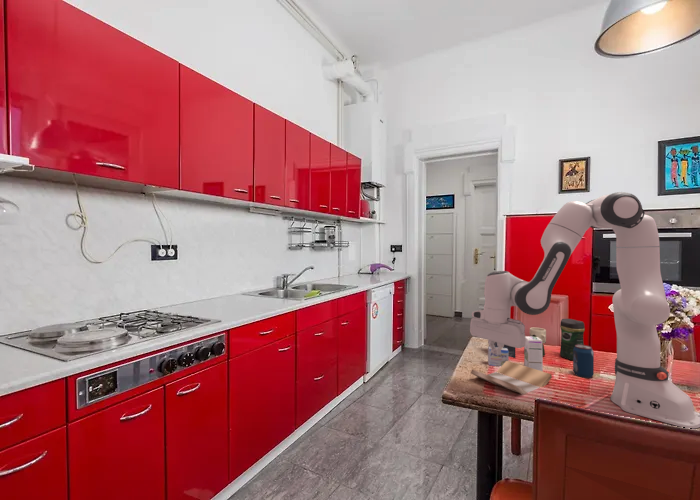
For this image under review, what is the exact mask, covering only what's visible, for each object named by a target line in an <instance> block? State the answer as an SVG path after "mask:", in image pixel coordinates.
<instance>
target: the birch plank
mask: <svg viewBox="0 0 700 500" xmlns="http://www.w3.org/2000/svg"><path fill="white" fill-rule="evenodd" d="M470 374H472V375H473V376H475V377H477V378H478V379H480V380H484V381H486V382H488V383H492V384H493V385H496V386H499V387H502V388H505V389H507V390H510V391H513V392H515V393H517V394H521V395H526V394H528V393H529V392H526V391H524V390H523V389H521V388H520V387H518V386H516V385H514V384H511V383H508V382H505V381H503V380H500V379H497V378H494V377H492V376H489V375H488V374H485V373H483V372H481V371H478V370H475V369H471V370H470Z"/></svg>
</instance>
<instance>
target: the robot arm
mask: <svg viewBox="0 0 700 500" xmlns="http://www.w3.org/2000/svg"><path fill="white" fill-rule="evenodd" d="M590 228H591V229H611V230H612V231H613V232H614V234H615V238H616V239H615V242H616V243H615V245H616V247H615V248H616V249H615V259H616V262H615V263H616V272H617V276H618V280H619V284H620V289H618V290H617V291H615V292H614V294H613V296H612V307H613V316H614V325H615V331H616V358H615V360H614V374H615V381H614V386H613V391H612V393H611V395H610V401H611V402H613V403H614V404H615V405H616V406H618V407H620V409H621V410H623V412H626V413H630V414H633V415H637V416H641V417H643V418H644V417H645V418H648V419H651V420H656V421H659V422H663V423H665V424H670V425H673V426H677V427H680V428H683V427H685V428H684V429H688V428H692V429H699V428H700V412H697V411H696V410H695V407H694V404H693V400H692V398H691V397H690V395H688V394H687V393H686V392H684V391H683V390H682V389H681V388H679V386H677V385H675V384H674V383H673V382H672V381H670V380H669V375H670V369H665V368H664V367H663V366H661V340H660V338H659V334H658V331H657V326H658V325H661V324H662V323H664V322H666V321H667V320H668V319H669V318H670V314H671V308H670V305H669V302H668V301H667V297H666V290H665V285H664V283H663V279H662V273H661V258H660V257H661V256H660V253H661V252H660V251H661V249H660V236H659V231H658V226H657V223H656V220H655V218H654V217H652V216H650V215H648V214H645V210H644V209H643V205H642V203H641V201H640V199H639V198H638V197H637V196H636V195H634V194H632V193H630V192H623V191H621V192H620V191H619V192H614V193H609V194H604V195H602V196H599V197H598V198H595V199H591V200H589V201H587V202H586V203H585V202H583V201H579V200H571V201H568V202H566V203H564V204H563V205H562V206H561V208H560V209H559V210H558V211H557V212H556V213H555V215H554V216H553V217H552V219H551V220H550V222H549V223H548V224H547V226H546V228H545V229H544V231H543V233H542V236H541V239H540V244H541V245H540V246H541V247H542V249H543V253H544V256H543V260H542V261H541V263H540V265H539V267H538V269H537V271H536V273H535V274H534V276H533V277H532V279H531V280H530V281H526V280H524V279H521V278H519V277H517V276H515V275H513V274H512V273H510V272H509V271H507V270H497V271H492V272H490V273H488V274H487V275H486V277H485V281H484V291H483V292H484V299H485V300H484V301H485V302H484V305H483V308H482V309H478V310H473V311H472V312H471V319H470V322H469V323H470V325H469V332H470V335H471V336H473V337H476V338H480V339H483V340H487V344H488V347H489V346H490V348H491V353H494V354H497V355H500V354H501V349H502V348H503V347H504V345H508V346H512V347H515V349H522V348H524V346H525V344H526V341H525V337H526V332H525V331H526V325H525V323H523V322H522V321H521V320H519V319H515V318H511V308H512V307H517V308H518V309H519V310H520V311H521V312H523V313H524V314H526V315H531V316H536V315H537V316H538V315H540V314H542V313H544V312H545V311H546V310H547V309H548V308H549V307H550V305H551V300H552V293H553V290H554V288H555V285H556V283H557V282H558V280H559V278H560V276H561V274H562V272H563V271H564V269H565V267H566V265H567V263H568V262H569V259H570V257H571V255H572V254H573V252H574V251H575V249H576V247H577V246H578V245H579V243H580V242H581V240H582V238H583V237H584V235H585V234H586V231H588V230H589V229H590ZM495 342H497V345H498V348H495V345H494V343H495Z"/></svg>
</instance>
